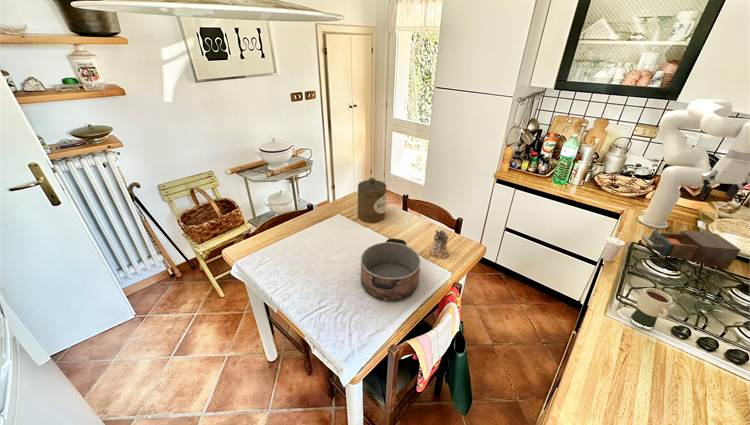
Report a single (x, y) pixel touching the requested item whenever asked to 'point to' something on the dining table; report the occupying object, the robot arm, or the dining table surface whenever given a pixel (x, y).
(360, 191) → the brown lidded canister
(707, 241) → the cabinet
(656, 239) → the drawer
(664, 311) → the character mug
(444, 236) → the figurine
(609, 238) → the smoothie
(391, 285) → the cooking pot
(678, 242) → the block
